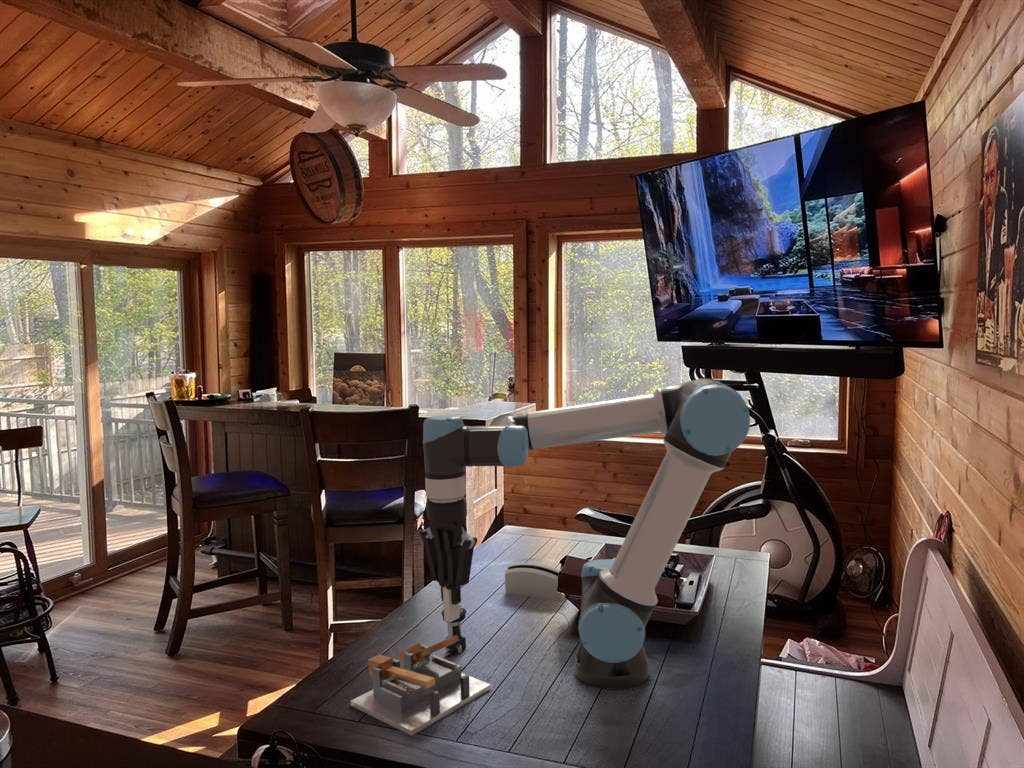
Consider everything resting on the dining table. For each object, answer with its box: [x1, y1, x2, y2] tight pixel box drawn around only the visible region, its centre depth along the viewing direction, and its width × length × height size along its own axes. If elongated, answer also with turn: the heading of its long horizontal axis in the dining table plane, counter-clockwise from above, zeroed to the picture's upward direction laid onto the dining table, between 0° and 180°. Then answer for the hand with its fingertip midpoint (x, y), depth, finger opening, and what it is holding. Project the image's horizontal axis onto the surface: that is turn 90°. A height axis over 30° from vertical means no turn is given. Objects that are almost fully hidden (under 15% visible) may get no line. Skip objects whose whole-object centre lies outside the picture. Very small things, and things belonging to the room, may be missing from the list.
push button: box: [441, 604, 467, 657], centre depth 167 cm, size 7×5×10 cm
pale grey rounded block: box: [504, 562, 566, 602], centre depth 200 cm, size 17×5×10 cm, turn 66°
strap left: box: [368, 654, 435, 688], centre depth 145 cm, size 16×3×3 cm, turn 50°
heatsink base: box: [350, 643, 492, 737], centre depth 148 cm, size 17×21×7 cm
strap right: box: [397, 635, 459, 668], centre depth 152 cm, size 16×3×3 cm, turn 49°
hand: (452, 618), depth 146 cm, fingers closed
